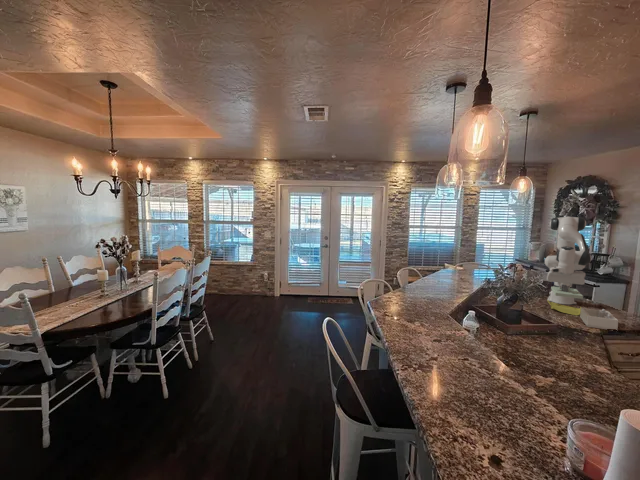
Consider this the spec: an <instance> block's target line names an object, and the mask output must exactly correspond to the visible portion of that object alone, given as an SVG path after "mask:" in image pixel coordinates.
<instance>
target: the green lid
mask: <svg viewBox="0 0 640 480" xmlns="http://www.w3.org/2000/svg"><path fill="white" fill-rule="evenodd" d="M561 286H562V287H563V289H560V288H559V287H553V286H551V287H550V290H551V291H553V293H554V294H555V296H563V297H571V298H574V299H579V300H580V299H584V295H583V294H582V293H581V292H580V291H579V290H578V289H576V288H572V289H571V288H570V290H568V287H567V286H566V285H563V284H562V285H561Z"/></svg>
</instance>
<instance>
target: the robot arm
mask: <svg viewBox="0 0 640 480" xmlns="http://www.w3.org/2000/svg"><path fill="white" fill-rule="evenodd" d="M586 226H587V221H586V219H585V218H584V217H582V216H579V217H575V216H568V215H567V216H564V217H562V216H561V217H552V218H551V219H550V221H549V228H550V229H551V230H552V231H557V236H556V237H557V239H556V242H557V243H556V249H557V250H558V251H557V252H556V254H555V255H547V256H546V258H545V259H544V264H545V266H546V267H547V268H548V269H549V271H548V272H547V274H546V281H547V282H549V283H550V282H551V283H553V286H552V287H559V288H560V289H563V287H562V286H561V285H562V284H563V285H566V286H567V287H568V290H570V288H571V289H573V285H585V283H586V281H585V280H586V279H585V278H586V274H587V273H586V272H585V271H583V270H584V269H585V268H586V266H587V265H589V264H590V263H591V261H592V256H591V254H590V251H589V248H588V245H587V242H586V238H585V236H584V235H583V233H580V231H583V230H584V229H585V228H586ZM575 244H576V245H578V248H579V250H576V247H575V246H576V245H575ZM548 294H549V296H547V299H546V300H549V302H554V303H557V304H560V305H567V306H569V305H577V302H576V301H575V298H571V297H563V296H555V294H554V293H553V291H552V290H551V291H549V293H548Z"/></svg>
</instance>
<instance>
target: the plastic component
mask: <svg viewBox="0 0 640 480" xmlns="http://www.w3.org/2000/svg"><path fill="white" fill-rule="evenodd" d="M546 300H547V299H546ZM547 303H548V304H549V306H550V310H551V309H552V310H556V311H558V312H560V313H563V314H567V315H570V316H571V315H572V316H576V317H577V316H580V313H581V308H583V307H582V306H579V307H580V308H577V307H574V306H573V307H572V306H569V305H565V304H559V303H555V302H552V301H549V300H547Z"/></svg>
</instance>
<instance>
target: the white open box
mask: <svg viewBox="0 0 640 480" xmlns="http://www.w3.org/2000/svg"><path fill="white" fill-rule="evenodd" d="M579 316H580V319H581V321H583V323H584V324H585V326H586V327H588V328H593V329H595V328H596V329H602V330H607V329H616V330H617V331H618V326H619V319H617V318H616V317H615V316H614V315H613V314H612V313H611V312H610V311H609V310H606V309H604V308H602V309H594V308H586V307H582V308H581V313H580V315H579Z"/></svg>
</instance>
